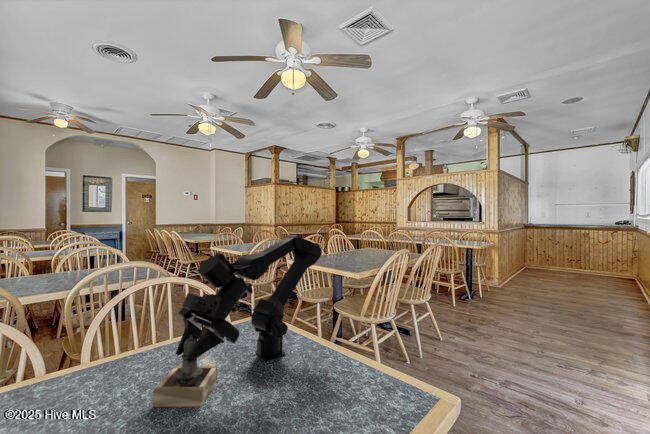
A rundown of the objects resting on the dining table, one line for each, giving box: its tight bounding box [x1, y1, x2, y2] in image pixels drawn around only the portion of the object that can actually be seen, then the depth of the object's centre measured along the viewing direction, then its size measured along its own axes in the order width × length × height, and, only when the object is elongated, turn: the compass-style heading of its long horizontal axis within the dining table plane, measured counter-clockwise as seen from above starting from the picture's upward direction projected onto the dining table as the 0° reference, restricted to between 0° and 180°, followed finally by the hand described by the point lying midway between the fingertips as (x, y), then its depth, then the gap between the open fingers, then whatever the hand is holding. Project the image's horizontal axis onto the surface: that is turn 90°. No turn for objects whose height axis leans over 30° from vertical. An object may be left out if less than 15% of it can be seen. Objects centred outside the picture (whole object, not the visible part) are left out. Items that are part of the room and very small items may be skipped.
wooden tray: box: [152, 365, 218, 408], centre depth 66 cm, size 10×10×4 cm
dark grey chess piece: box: [175, 335, 203, 387], centre depth 67 cm, size 6×6×12 cm
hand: (182, 357), depth 65 cm, fingers open, 5 cm apart
